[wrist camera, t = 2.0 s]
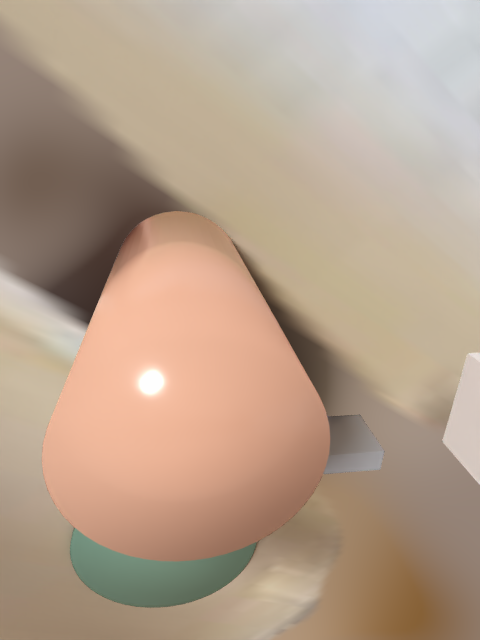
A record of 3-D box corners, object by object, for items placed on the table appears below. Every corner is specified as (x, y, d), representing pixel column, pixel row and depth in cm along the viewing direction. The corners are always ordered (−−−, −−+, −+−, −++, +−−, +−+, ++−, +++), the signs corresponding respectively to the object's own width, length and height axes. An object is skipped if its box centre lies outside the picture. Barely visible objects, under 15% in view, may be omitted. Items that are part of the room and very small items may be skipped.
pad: (82, 611, 27) (80, 617, 27) (60, 480, 23) (58, 486, 22) (251, 589, 29) (252, 595, 28) (261, 464, 24) (262, 469, 24)
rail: (105, 448, 22) (96, 493, 20) (103, 430, 22) (94, 473, 19) (356, 432, 24) (380, 469, 22) (360, 414, 24) (384, 451, 21)
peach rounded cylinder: (120, 330, 20) (62, 574, 9) (111, 210, 17) (18, 340, 7) (237, 327, 21) (313, 547, 10) (242, 212, 18) (348, 331, 8)
